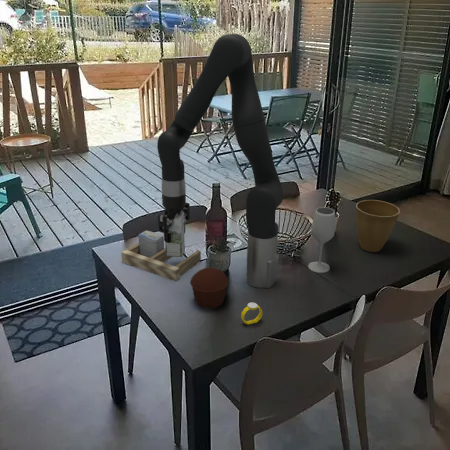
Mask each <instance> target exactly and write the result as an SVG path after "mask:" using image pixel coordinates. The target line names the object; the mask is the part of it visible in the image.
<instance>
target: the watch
mask: <svg viewBox="0 0 450 450" xmlns="http://www.w3.org/2000/svg"><path fill="white" fill-rule="evenodd" d="M257 309H258V312H259V313H258V314H257V316H256V317H255V318H254V319H250V320H245V317H246V316H245V315H246V314H247V312H248V311H249V310H250V311H256V310H257ZM240 316H241V317H240V318H241V320H242V322H243V323H244V324H245V325H252V324H257V323H258V322H259V321H260V320H261V319H262V316H263V310H262V308H261V307H260V306H259V305H258V304H257V303H256V302H253V301H251V302H248V303H247V306H246V307H244V308H243V310H242V311H241V314H240Z"/></svg>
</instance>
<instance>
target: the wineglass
mask: <svg viewBox="0 0 450 450" xmlns="http://www.w3.org/2000/svg"><path fill="white" fill-rule="evenodd" d="M310 231H311V235H312V237H313V238H314V240H316V241H317V242H318V243H319V253H318V254H319V256H318V261H311V262H310V263H309V264H308V266H307V267H308V269H309V270H310V271H311V272H312V273H313V272H314V273H318V274H324V273H328V272H330V270H331V269H330V265H329V264H327V263H326V262H323V261H322V254H323V253H322V252H323V246H324V244H325V243H327V242H329V241H330V240H332V239H333V238H334V236H335V233H336V212H335V210H334V209H333V208H330V207H326V206H320V207H318V208H316V209H315V212H314V214H313V220H312V223H311V229H310Z"/></svg>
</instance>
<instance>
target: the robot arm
mask: <svg viewBox="0 0 450 450" xmlns="http://www.w3.org/2000/svg"><path fill="white" fill-rule="evenodd" d="M227 78H228V81H229V84H230V85H229V86H230V90H231V122H232V125H233V126H232V127H233V130H234V135H235V138H236V143H237V145H238V146H239V149H240V150H241V152H242V154H244V156H245V158H246V159H247V161H248V162H249V165H250V167H251V170H252V174H253V178H254V179H253V181H254V186H253V188H251V189H249V191H248V193H247V196H246V199H245V200H246V201H245V203H246V204H245V222H246V225H247V245H246V246H247V249H246V251H247V253H246V273H245V276H246V277H245V278H246V279H245V280H246V282H247V284H248V285H250V286H251V287H255V288H261V289H262V288H263V289H264V288H266V289H270V288H271V287H272V286H273V285H275V284H276V282H277V281H278V276H279V275H278V274H279V273H278V272H279V264H280V263H279V260H280V254H278V253H277V252H278V239H279V225H278V223H277V222H276V212H277V211H276V210H277V209H278V208H279V207H280V205H281V204H282V202H283V200H284V191H283V190H284V189H283V186H282V183H281V180H280V178H279V174H278V171H277V168H276V165H275V161H274V157H273V151H272V147H271V142H270V138H269V131H268V126H267V122H266V118H265V113H264V111H263V107H262V102H261V97H260V94H259V92H258V88H257V84H256V79H255V70H254V62H253V53H252V48H251V45H250V42H249V41H248V40H247V38H245V36H243V35H242V34H237V33H231V34H229V33H228V34H224V35H222V36H220V37H219V38H218V39H217V40H215V43H214V44H213V46H212V49H211V50H210V53H209V55H208V58H207V59H206V62H205V65H204V66H203V69H202V71H201V72H200V75H199V76H198V78H197V80H196V81H195V83H194V85H193V87H192V88H191V90H190V91H189V93H188V94H187V95H186V97H185V99H184V101H182V103H181V105H180V106H179V108H178V110H177V111H176V112H175V115H174V119H173V121H172V123H171V124H170V125H169V127H168V128H167V129H166V130H165V131H163V132H161V134H159V136H158V139H157V141H156V143H157V145H156V146H157V147H156V148H157V154H158V157H159V161H160V164H161V199H162V200H161V204H162V207H163V208H164V213H163V214H159V215H158V216H157V221H158V232H160V233H162V234H163V236H164V243H165V242H167V243H170V242H171V229H172V227H173V226H174V219H175V218H177V217H178V214H184V235H185V234H186V223H187V221H189V220H190V216H191V215H190V210H191V209H190V203H189V202H187V198H186V197H187V195H186V194H187V193H186V191H187V190H186V179H185V163H184V161H183V159H181V153H180V151H181V149H182V148H184V146H185V145H186V144H187V143H188V141H189V139H190V137H191V135H192V134H193V132H194V130H195V129H196V127H197V126H198V125H199V123H200V122H201V120H202V119H203V117H204V116H205V115H206V112H208V109H209V107H210V106H211V103H212V101H213V99H214V96H215V95H216V93H217V92H218V90H219V88H220V87H221V85H222V84H223V82H224V81H225V80H226V79H227ZM183 212H184V213H183ZM167 218H169V219H170V220H172V222H171V223H167ZM167 225H169V228H168V229H167Z"/></svg>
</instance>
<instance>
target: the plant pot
mask: <svg viewBox="0 0 450 450" xmlns="http://www.w3.org/2000/svg"><path fill="white" fill-rule="evenodd" d="M400 212H401V210H400V208H399V207H397V206H396V205H394V204H393V203H390V202H387V201H384V200H383V201H382V200H377V199H364V200H360V201H358V202H357V203H356V205H355V221H356V222H355V223H356V224H355V225H356V232H357V238H358V243H359V246H360V248H361V249H362V250H363V251H366V252H370V253H377V252H380V251H382V249H383V247H384V246H385V244H386V242H387V241H388V239H389V237H390V236H391V234H392V233H393V232H392V231H393V230H394V227H395V225H396V223H397V220H398V217H399V215H400Z"/></svg>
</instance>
